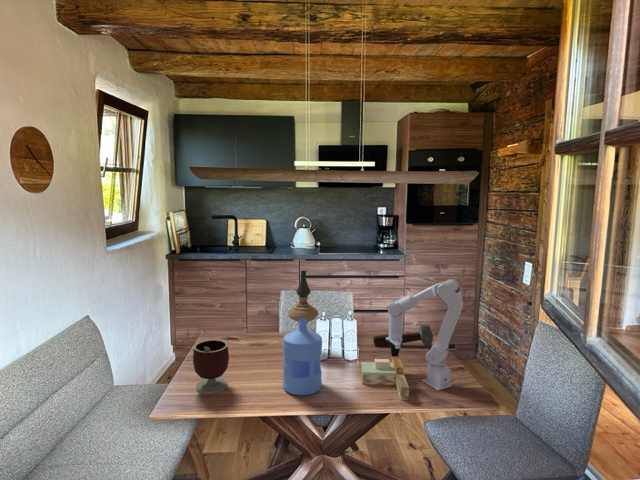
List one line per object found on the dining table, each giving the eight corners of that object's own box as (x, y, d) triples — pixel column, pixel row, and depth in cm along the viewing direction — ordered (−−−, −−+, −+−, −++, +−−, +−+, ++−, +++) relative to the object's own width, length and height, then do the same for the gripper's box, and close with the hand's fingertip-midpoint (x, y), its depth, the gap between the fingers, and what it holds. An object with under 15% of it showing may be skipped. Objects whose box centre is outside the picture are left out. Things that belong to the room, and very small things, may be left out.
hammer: (375, 354, 207) (433, 347, 207) (373, 333, 206) (432, 325, 206) (374, 350, 212) (431, 343, 212) (371, 329, 210) (429, 322, 210)
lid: (400, 367, 177) (400, 356, 176) (404, 377, 167) (404, 366, 166) (360, 366, 177) (361, 355, 177) (362, 376, 167) (363, 365, 167)
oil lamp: (283, 347, 205) (283, 269, 200) (310, 342, 211) (311, 267, 206) (294, 358, 191) (294, 275, 186) (322, 353, 198) (324, 273, 192)
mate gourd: (199, 377, 171) (198, 332, 169) (232, 378, 171) (231, 332, 169) (187, 396, 156) (186, 346, 153) (223, 397, 156) (222, 347, 153)
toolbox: (399, 374, 177) (400, 362, 177) (409, 400, 155) (410, 387, 155) (360, 373, 178) (361, 361, 177) (365, 399, 156) (365, 386, 155)
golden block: (398, 362, 177) (399, 356, 177) (403, 373, 166) (403, 367, 166) (391, 361, 177) (392, 356, 177) (396, 373, 166) (396, 367, 166)
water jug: (275, 384, 166) (275, 318, 163) (306, 374, 176) (307, 311, 172) (297, 400, 154) (297, 329, 150) (329, 388, 164) (330, 321, 160)
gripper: (384, 322, 185) (383, 351, 187) (388, 334, 171) (387, 365, 172) (399, 323, 185) (398, 351, 187) (405, 334, 171) (404, 365, 172)
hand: (394, 358), depth 180 cm, fingers closed
